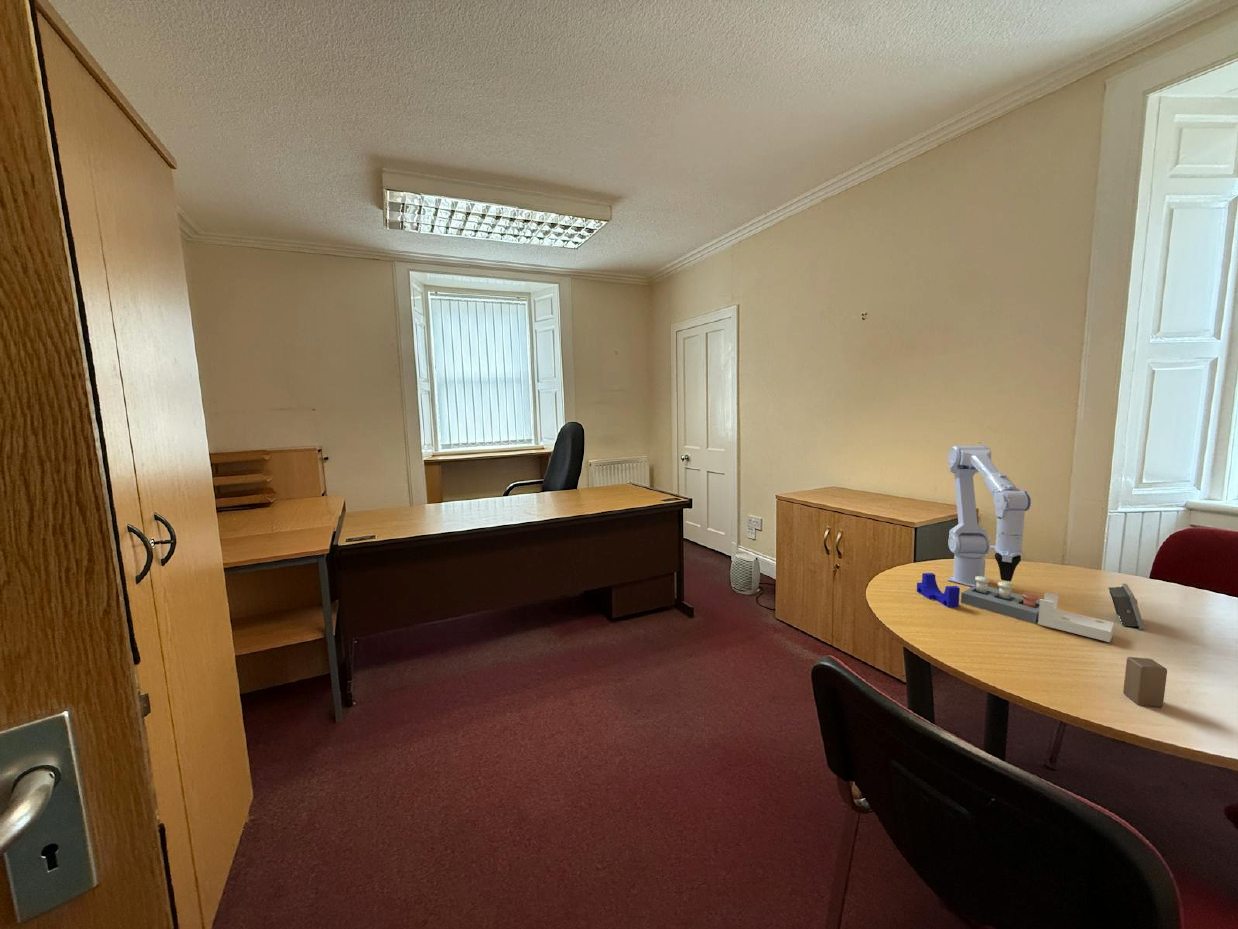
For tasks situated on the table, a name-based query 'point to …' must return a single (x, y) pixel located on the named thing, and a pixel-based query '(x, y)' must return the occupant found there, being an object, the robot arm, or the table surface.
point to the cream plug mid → (1005, 589)
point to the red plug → (1029, 599)
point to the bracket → (1072, 620)
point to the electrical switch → (1126, 606)
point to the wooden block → (1145, 681)
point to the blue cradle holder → (938, 591)
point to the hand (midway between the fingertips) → (1006, 580)
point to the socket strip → (1001, 604)
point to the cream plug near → (982, 583)
